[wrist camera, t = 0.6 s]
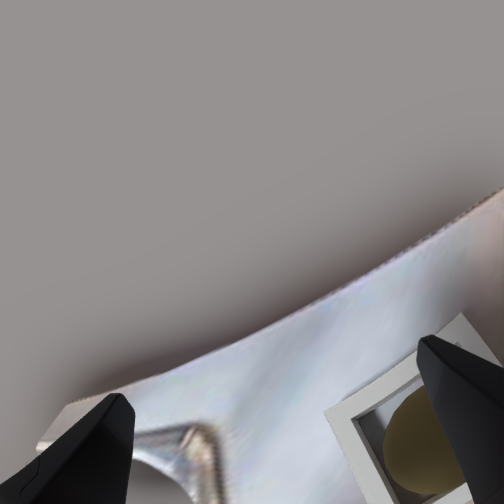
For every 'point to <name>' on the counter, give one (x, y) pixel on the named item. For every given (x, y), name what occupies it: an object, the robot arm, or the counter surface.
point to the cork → (420, 448)
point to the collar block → (376, 394)
